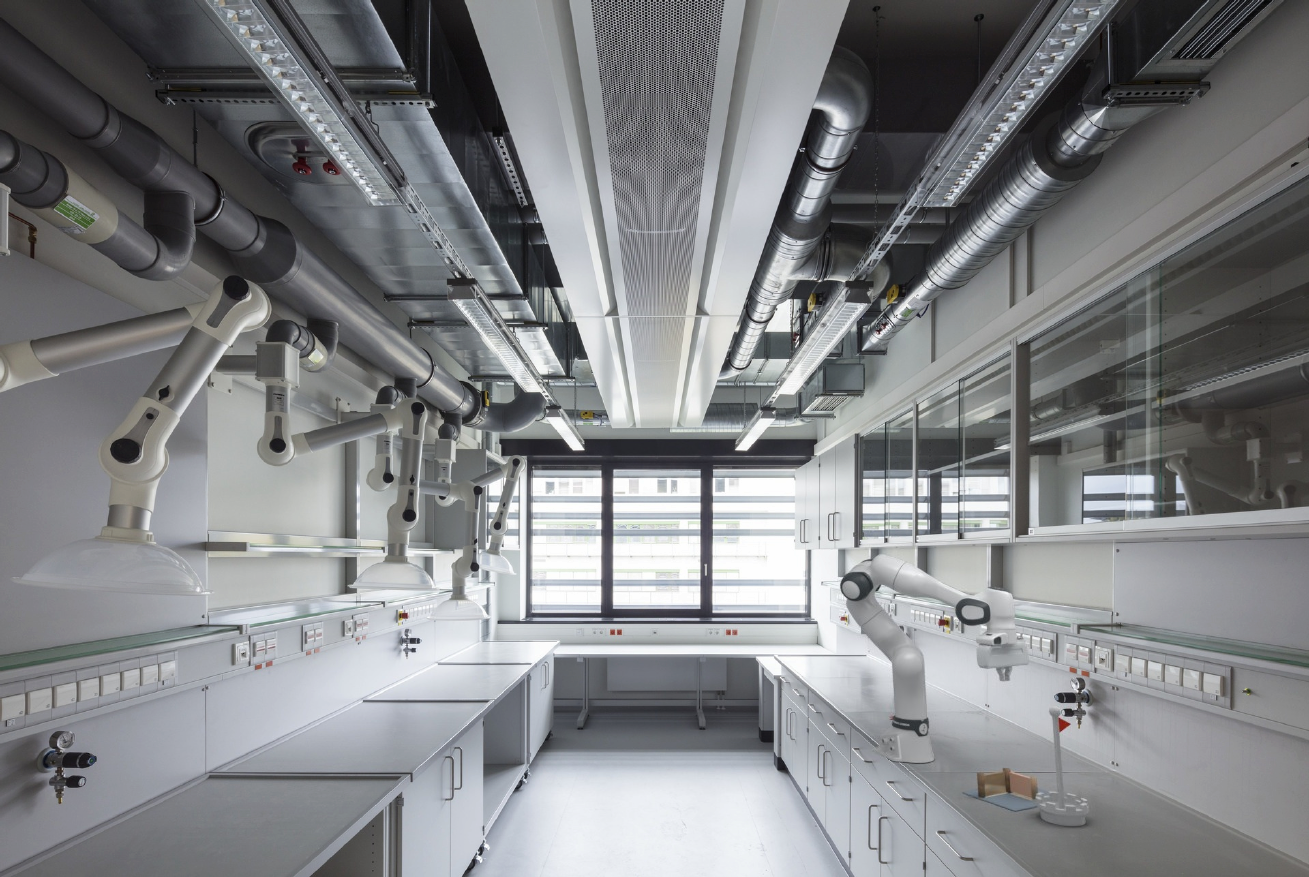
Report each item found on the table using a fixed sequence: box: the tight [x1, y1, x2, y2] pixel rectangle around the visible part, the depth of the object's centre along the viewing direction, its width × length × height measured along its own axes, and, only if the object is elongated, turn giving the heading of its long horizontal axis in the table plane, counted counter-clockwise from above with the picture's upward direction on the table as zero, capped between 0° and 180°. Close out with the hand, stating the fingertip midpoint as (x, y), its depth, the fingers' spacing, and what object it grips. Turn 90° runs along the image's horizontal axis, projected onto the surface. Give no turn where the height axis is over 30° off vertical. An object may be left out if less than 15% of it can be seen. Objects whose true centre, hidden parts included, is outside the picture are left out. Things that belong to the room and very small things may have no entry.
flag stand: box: [1035, 705, 1090, 827], centre depth 218 cm, size 13×13×30 cm
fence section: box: [1009, 771, 1039, 800], centre depth 234 cm, size 2×9×6 cm, turn 26°
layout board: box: [962, 788, 1049, 813], centre depth 236 cm, size 19×24×1 cm
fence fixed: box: [976, 767, 1012, 798], centre depth 237 cm, size 2×13×7 cm, turn 116°
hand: (1004, 680), depth 255 cm, fingers closed
